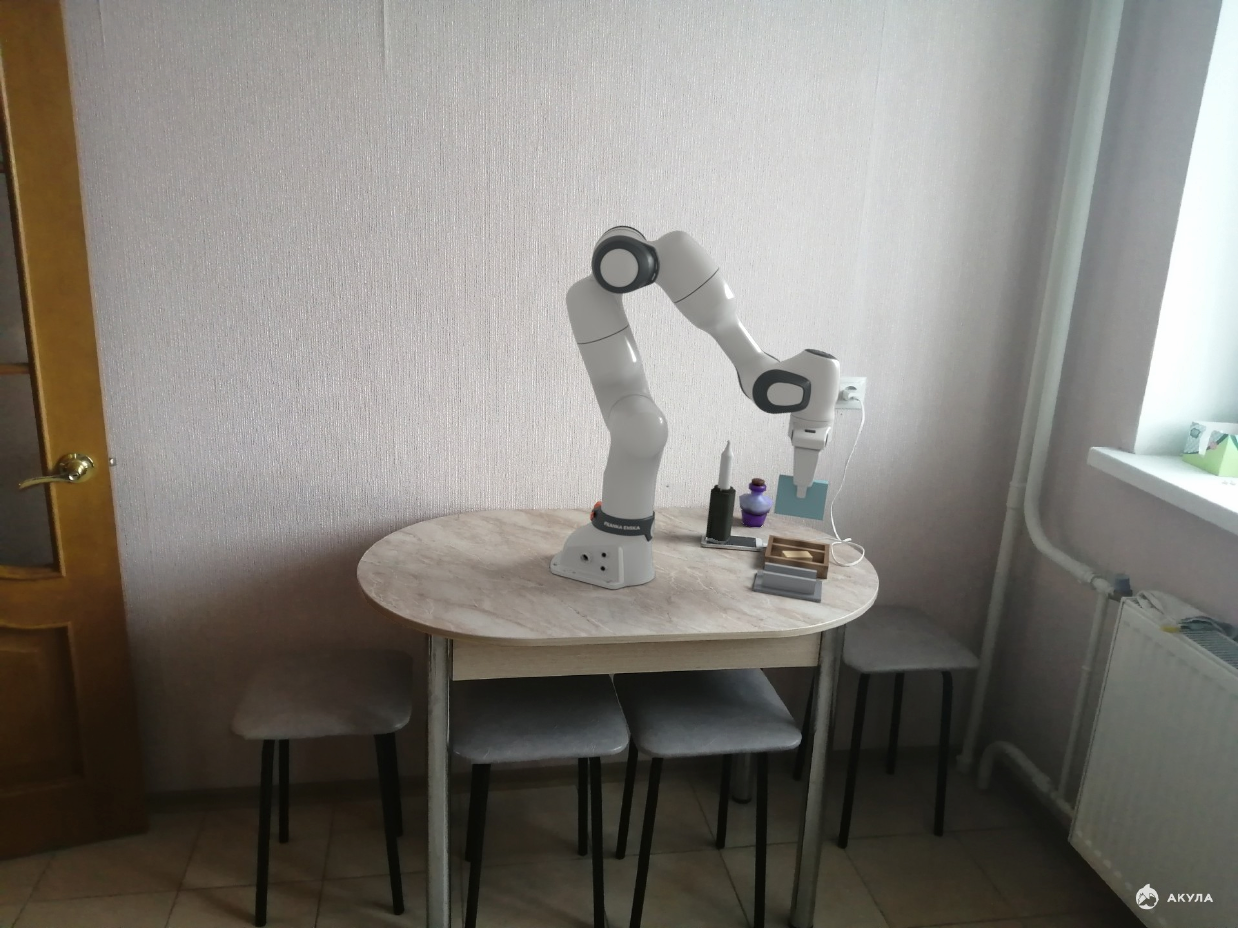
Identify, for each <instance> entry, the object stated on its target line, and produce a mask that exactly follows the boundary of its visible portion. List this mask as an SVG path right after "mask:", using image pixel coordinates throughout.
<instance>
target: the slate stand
mask: <svg viewBox="0 0 1238 928" xmlns="http://www.w3.org/2000/svg"><path fill="white" fill-rule="evenodd" d="M816 574H817V571H816V570H810V569H804V568H798V567H792V566H786V565H779V564H773V563H767V562H765V569H763V570H760V569H758V570H757V573H756V577H755V580H754V585H753V587H752V588H753V589H752V591H753V592H759V593H764V594H769V595H776V596H782V597H787V598H792V599H799V600H803V601H804V600H805V601H809V602H810V601H811V602H816V603H821V601H822V590H823V580H821V579H820V580H818V579H817V577H816Z"/></svg>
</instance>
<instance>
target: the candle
mask: <svg viewBox="0 0 1238 928" xmlns="http://www.w3.org/2000/svg"><path fill="white" fill-rule="evenodd" d="M731 443H732V440H730V439H728V440H727V444H726V446H725V448H724V450H723V451H722V452H721V454H720V462H719V472H718V481H717V484H715V485H714V486H713V488H711V489H710V496H709V505H708V506H709V507H708V514H707V520H706V521H707V522H706V531H705V538H706V537H708V538H713V539H715V540H718V541H726V540H727V539H728V538H729V537H730V538H731V536H732V535H731V534H732V527H733V518H734V509H735V502H736V495H737V494H736V492H737V490H736V489H735V488H734V487H733V486H731V485H732V484H731V483H732V474H733V468H734V467H733V465H734V457H735V454H734V452H733V449H732V445H731Z"/></svg>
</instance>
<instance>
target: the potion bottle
mask: <svg viewBox="0 0 1238 928" xmlns="http://www.w3.org/2000/svg"><path fill="white" fill-rule="evenodd" d="M765 482H766V481H765V479H762V478H760V477H759V478H758V477H754V478H752V479H751V482H749V483H748V490H750V493H743V494H741V495H739V496H738V499H739V501H738V502H739V509H741V511H740V512H741V520H742V521H741V523H742V522H743V523H744V525H747V526H750V527H761V526H762V525H763V526H764V524H765V521H766V519H767V516H768V514H769V513H770V511H771V508H772V505H773V503H774V501H773V499H772V498H771V497H770V496H766V495H763V494H764V492H766V491H767V484H766V483H765ZM744 525H743V526H744ZM747 526H746V527H747ZM750 527H749V528H750ZM761 528H762V527H761Z"/></svg>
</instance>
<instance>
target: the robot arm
mask: <svg viewBox="0 0 1238 928" xmlns="http://www.w3.org/2000/svg"><path fill="white" fill-rule="evenodd" d="M654 283H655V284H657V286H659V287H660V288H661V290H663V292H664V293H665V294H666V295H667V297H668V298H669V300H670V301H671V302H672V303H673V305H674V306H675V308H676V309H677V310H678V311H679V312H680V313H681V314H682V316H684V318H686V319H687V320H688V321H689V323H690V324H692V325H693V326H695V327H696V328H697V329H699V330H701V331H704V332H706V334H708V335H709V336H711V337H712V338H713V339H714V341H716V343H717V345H718V346H719V347H720V348H721V350H722V351H723V352H724V354H725V355H726V357H727V358H728V359H729V361H730V363H732V365H733V366H734V368H735V370H736V376H737V379H738V384H739V387H740V389H741V392H742V393H743V394H744V396H745V397H746V398H747V399H749V400H750V401H751V402H752V403H753V404H754V405H755V406H756V408H758V409H759V410H761V412H763V413H767V414H771V415H779V414H789V413H790V414H789V420H788V421H789V423H788V429H787V437H788V438H789V439H790V441H791V442H790V443H791V446H793V464H792V465H793V467H792V468H793V469H792V471H793V472H792V476H793V482H794V484H795V485H797V495H796V496H797V497H798V498H805V495H806V490H807V487H811V485H812V483H813V480H814V479H815V476H816V473H817V469H818V465H819V461H820V458H821V455H822V452H823V451H824V450H825V449H826V446H827V445H828V444H829V443H831V442H832V439H833V433H834V426H835V419H836V414H835V413H836V412H835V407H836V403H837V401H838V400H839V399H838V398H839V393H840V385H841V363H840V361H839V360H838V358H837V357H835V356H834V355H833V354H831V353H827V352H826V351H821V350H818V349H814V348H805V349H803V350H802V351H801V352H800V353H798V354H796V355H794V356H792V357H789V358H787V359H785V360H781V361H780V359H778V358H776V357H775V356H773V355H771V354H770V353H767V352H765V351H763V350H762V349H761V347H759V346H758V344H757V343H756V342H755V340H754V339H753V337H752V336H751V334H750V333H749V332H748V330H747V329H746V328H745V326H744V325H743V324H742V321H741V320H740V319H739V315H738V313H737V308H736V307H737V305H736V304H737V296H736V294H735V292H734V289H733V288H732V286H731V283H730V281H729V280H728V278H727V276H726V274H724V272H723V270H722V269H721V267H720V266H719V265H718V264H717V262H716V261H715V259H713V257H712V256H711V255H710V254H709V253H708V251H707V250H706V249H705V248H704V247H703V246H702V245H701V244H700V243H699V242H698V241H697V240H696V239H694V237H693V236H692V235H690V234H689V233H688V232H686V231H684V230H672V231H669V232H666V233H665V234H663V235H662V236H660V237H659V238H658V239H656V240H647V238H646V237H645V236H644V234H643V233H642V232H641V231H639V230H638V229H637V228H635V227H632V226H628V225H617V226H614V227H611V228H609V229H607V230H606V231H605V232H604V233H603V234H602V235H601V236H600V238H599V239H598V240H597V242H596V243H595V245H594V247H593V251H592V257H591V273H590V274H589V275H588V276H586V277H583V278H581V279H579V280H577V281H576V282H574V283H573V284H572V285H571V286H570V287H569V288H568V289H567V292H566V295H565V302H566V303H565V304H566V310H567V314H568V320H569V323H570V328H571V331H572V334H573V337H574V340H575V342H576V345H577V348H578V350H579V353H580V356H581V358H582V361H583V364H584V367H585V370H586V372H587V375H588V377H589V380H590V383H591V386H592V389H593V392H594V396H595V399H596V402H597V404H598V407H599V410H600V413H601V415H602V418H603V421H604V424H605V426H606V428H607V430H608V431H609V435H610V445H609V451H608V456H607V460H606V461H607V462H606V465H605V469H604V470H603V478H602V479H603V480H602V489H601V490H602V491H601V493H602V494H601V501H600V500H598V501H597V502H596V503H595V504H594V505H593V508H592V510H591V513H590V516H589V520H590V522H589V523H587V524H585V525H583V526H582V527H579V528H577V529H576V530H574V531H573V532H572V533H570V534H569V535H568V537H566V540H565V542H564V544H563V547H562V550H560V551H559V552H557V553H556V554H555V555H554V556H553V557H552V559H551V561H550V565H549V570H550V572H551V573H552V574H554V575H557V576H560V577H565V578H568V579H573V580H576V581H580V582H583V583H588V584H591V585H593V586H594V585H595V586H599V587H601V588H606V589H610V590H618V589H621V588H624V587H628V586H629V587H630V586H639V585H642V584H643V585H644V584H647V583H649V582H650V581H652V580H653V579H654V578H655V576H656V571H655V566H654V557H653V546H652V545H653V539H654V538H653V537H654V535H655V527H656V526H655V525H656V519H655V518H656V512H655V510H654V508H655V507H654V506H655V497H656V486H657V478H658V474H659V469H660V466H661V462H662V458H663V454H664V450H665V447H666V445H667V441H668V439H669V427H668V421H667V418H666V416H665V414H664V412H663V411H662V410H661V409H660V408H659V406H658V405H657V404H656V402H655V401H654V399H653V397H652V394H651V391H650V388H649V384H648V382H647V377H646V374H645V369H644V364H643V360H642V357H641V354H640V351H639V349H638V348H639V347H638V344H637V342H636V340H635V337H634V333H633V331H632V328H631V325H630V321H629V320H628V317H627V314H626V310H625V307H624V304H623V295H624V294H628V293H633V292H635V291H637V290H640V289H642V288H645V287H648V286H650V285H653V284H654Z"/></svg>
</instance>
